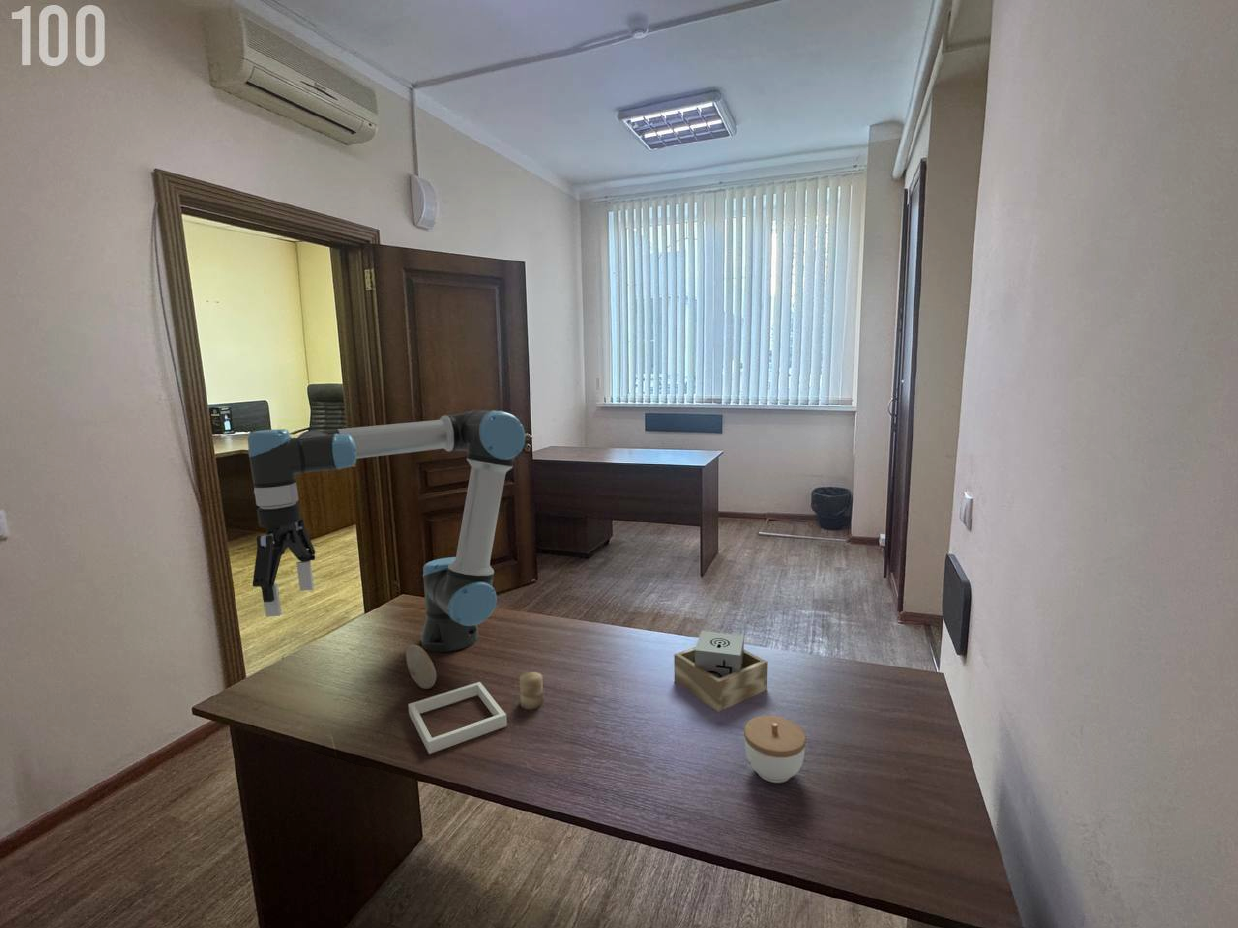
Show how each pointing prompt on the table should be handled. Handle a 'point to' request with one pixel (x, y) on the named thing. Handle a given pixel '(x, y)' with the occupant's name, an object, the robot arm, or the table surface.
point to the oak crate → (721, 680)
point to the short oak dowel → (531, 690)
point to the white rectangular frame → (461, 733)
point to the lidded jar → (774, 747)
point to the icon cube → (719, 653)
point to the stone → (420, 666)
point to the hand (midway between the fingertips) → (291, 601)
